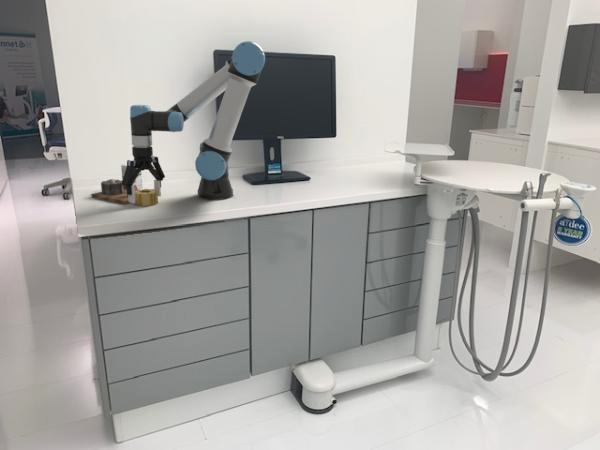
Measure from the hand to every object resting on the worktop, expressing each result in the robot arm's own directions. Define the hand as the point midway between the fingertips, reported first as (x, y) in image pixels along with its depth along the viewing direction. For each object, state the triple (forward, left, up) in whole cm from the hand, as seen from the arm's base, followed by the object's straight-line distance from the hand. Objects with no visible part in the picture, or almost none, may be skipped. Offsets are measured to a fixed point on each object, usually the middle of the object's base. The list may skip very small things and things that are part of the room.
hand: (145, 199), depth 192 cm
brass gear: (0, 0, -2) cm, 2 cm away
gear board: (+15, -1, -2) cm, 15 cm away
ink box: (+22, -13, -2) cm, 26 cm away
